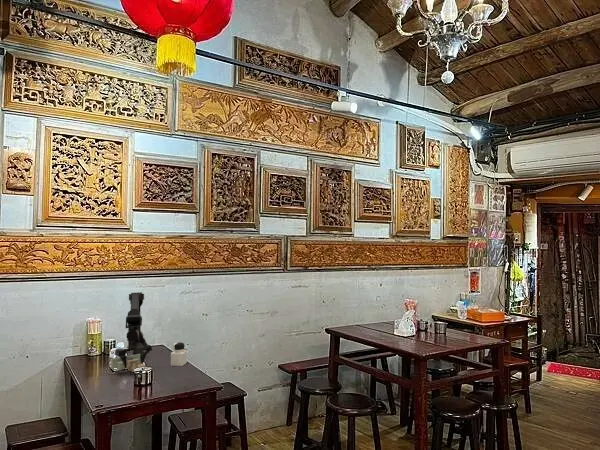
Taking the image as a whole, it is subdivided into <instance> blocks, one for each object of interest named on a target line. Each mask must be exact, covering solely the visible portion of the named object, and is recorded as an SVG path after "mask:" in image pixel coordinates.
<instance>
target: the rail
mask: <svg viewBox="0 0 600 450" xmlns="http://www.w3.org/2000/svg"><path fill="white" fill-rule="evenodd" d="M140 367H145V368H146V364H145V363H144V362H143V363H141V361H140V362H138V361H136V360H134V359H133V358H126V369H125V370H127V369H128V370H127V371H130V372H131V373H133V372H134V369H136V368H140Z"/></svg>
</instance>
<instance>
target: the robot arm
mask: <svg viewBox="0 0 600 450" xmlns="http://www.w3.org/2000/svg"><path fill="white" fill-rule="evenodd" d="M144 300H145V293H143V292H142V291H141V292H139V291H138V292H131V293H128V302H130V303H129V304H130V310H129V311H128V312H127V316H126V317H125V329H127V333H126V340H127V343H128V344H127V346H126V349H124V348H118V349H115V351H114V355H115V356H116V357H118V358H119V357H120V358H121V360H122V362H123V364H124V367H125V368H126V357H127V356H128V355H127V354H130V353H132V355H136V354H141V355H140V362H141V363H143V364H144V362H145V358H146V356H147V354H149V353H151V352H150V351H153V346H152V345H151V344H148V343H147V340H146V339H145V337H144V333H143V331H141V330H142V328H141V327H142V326H143V317H142V314H141V307H142V305H143V303H144Z"/></svg>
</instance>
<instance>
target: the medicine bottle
mask: <svg viewBox="0 0 600 450" xmlns="http://www.w3.org/2000/svg"><path fill="white" fill-rule="evenodd" d="M172 347H173V349H172V352H170V366H172V367H173V366H175V367H183V366H184V365H186V364H187V363H188V351H187V349H186V350H185V343H184V342H175V343H173V346H172Z"/></svg>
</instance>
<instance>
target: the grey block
mask: <svg viewBox="0 0 600 450" xmlns="http://www.w3.org/2000/svg"><path fill="white" fill-rule="evenodd" d="M140 355H141V354H136V355H126V356H127V357H126V358H133V359H134V360H136V361H138V362H141V359H140ZM114 368H117V369H119V370H120V371H123V370H122V369H125V367H124V364H123V362H122V360H121V358H120V357H119V356H118V357H116V358H111V359H110V370H111V369H112V371H114V370H113V369H114ZM117 369H116V370H117ZM119 370H118V371H119ZM125 370H126V369H125Z"/></svg>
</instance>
